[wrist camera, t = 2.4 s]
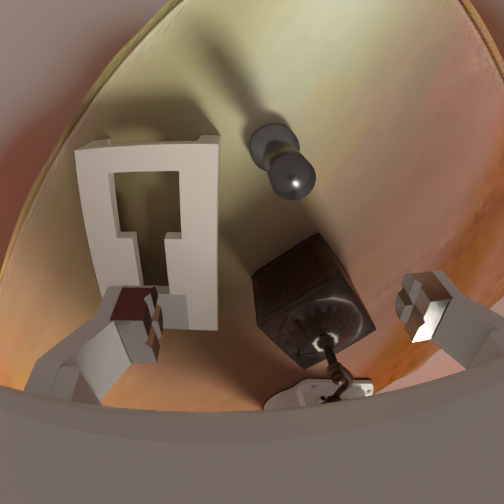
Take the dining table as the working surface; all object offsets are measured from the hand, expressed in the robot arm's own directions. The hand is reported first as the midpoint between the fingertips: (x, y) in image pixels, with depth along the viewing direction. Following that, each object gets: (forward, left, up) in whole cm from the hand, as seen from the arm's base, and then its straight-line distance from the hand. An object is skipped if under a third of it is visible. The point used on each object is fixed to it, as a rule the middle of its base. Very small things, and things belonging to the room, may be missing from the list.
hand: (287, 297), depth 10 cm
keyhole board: (+10, +10, -25) cm, 28 cm away
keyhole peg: (-3, 0, -25) cm, 25 cm away
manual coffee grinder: (-10, +19, -25) cm, 33 cm away
